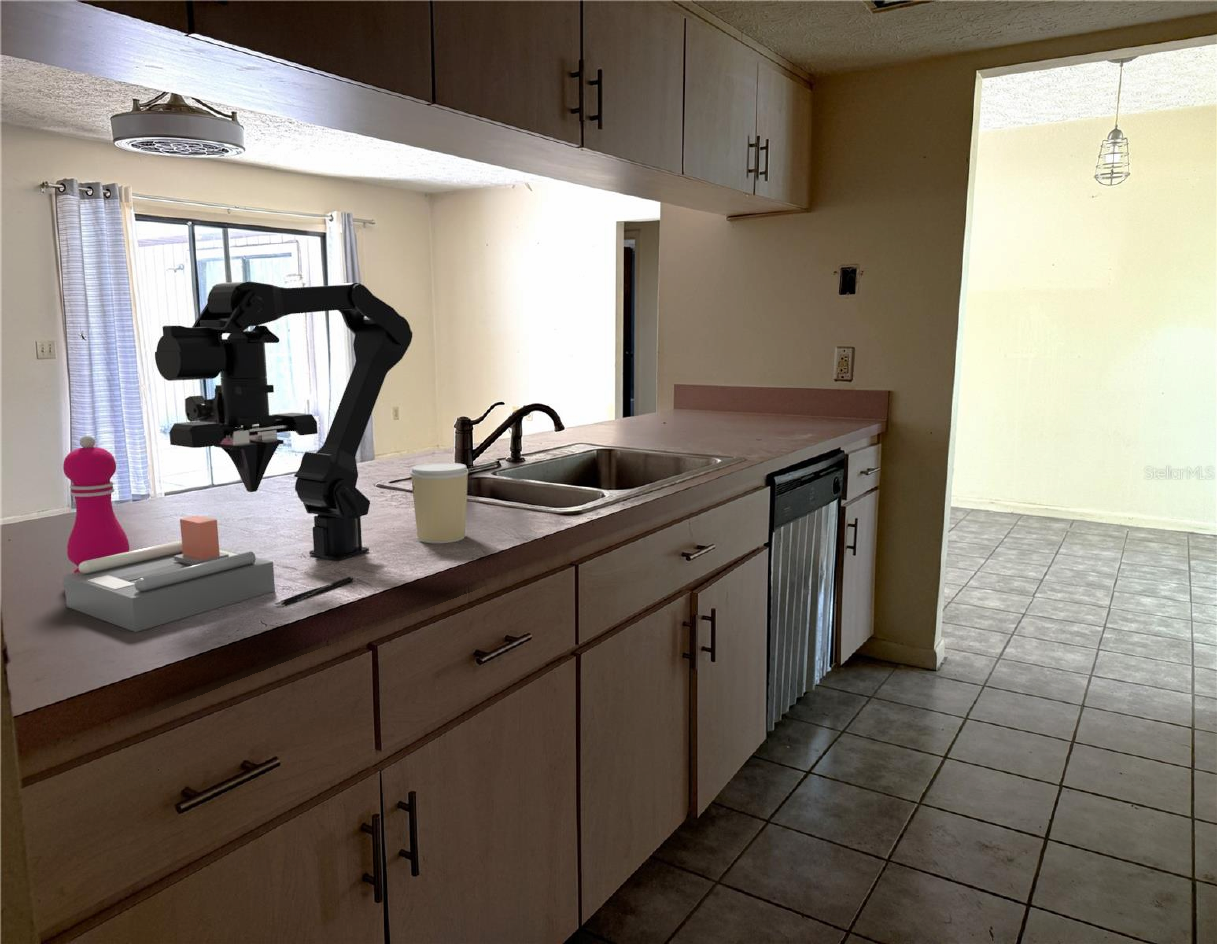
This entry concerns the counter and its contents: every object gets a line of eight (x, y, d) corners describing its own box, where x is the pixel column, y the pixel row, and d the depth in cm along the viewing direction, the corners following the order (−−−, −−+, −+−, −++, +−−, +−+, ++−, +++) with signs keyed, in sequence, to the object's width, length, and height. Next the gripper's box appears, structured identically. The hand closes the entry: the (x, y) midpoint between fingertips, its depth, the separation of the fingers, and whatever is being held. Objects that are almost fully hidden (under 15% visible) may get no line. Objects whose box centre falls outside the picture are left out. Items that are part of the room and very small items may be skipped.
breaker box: (204, 571, 116) (201, 533, 115) (274, 590, 108) (272, 549, 107) (66, 606, 101) (61, 562, 100) (135, 632, 93) (130, 584, 92)
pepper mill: (142, 572, 116) (129, 432, 113) (113, 588, 109) (98, 438, 105) (90, 572, 116) (75, 432, 112) (58, 588, 109) (41, 439, 105)
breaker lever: (206, 553, 110) (202, 513, 109) (229, 558, 108) (225, 518, 107) (174, 560, 107) (170, 520, 106) (196, 566, 104) (193, 525, 103)
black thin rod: (280, 610, 101) (280, 602, 101) (274, 608, 102) (274, 601, 102) (353, 584, 112) (353, 577, 112) (348, 582, 112) (348, 575, 112)
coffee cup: (436, 528, 142) (434, 460, 140) (481, 534, 138) (479, 464, 136) (400, 540, 134) (397, 468, 132) (447, 547, 130) (444, 473, 128)
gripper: (268, 373, 122) (275, 476, 124) (141, 378, 106) (152, 496, 109) (317, 375, 116) (323, 483, 119) (189, 381, 100) (200, 505, 103)
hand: (252, 491), depth 112 cm, fingers closed
